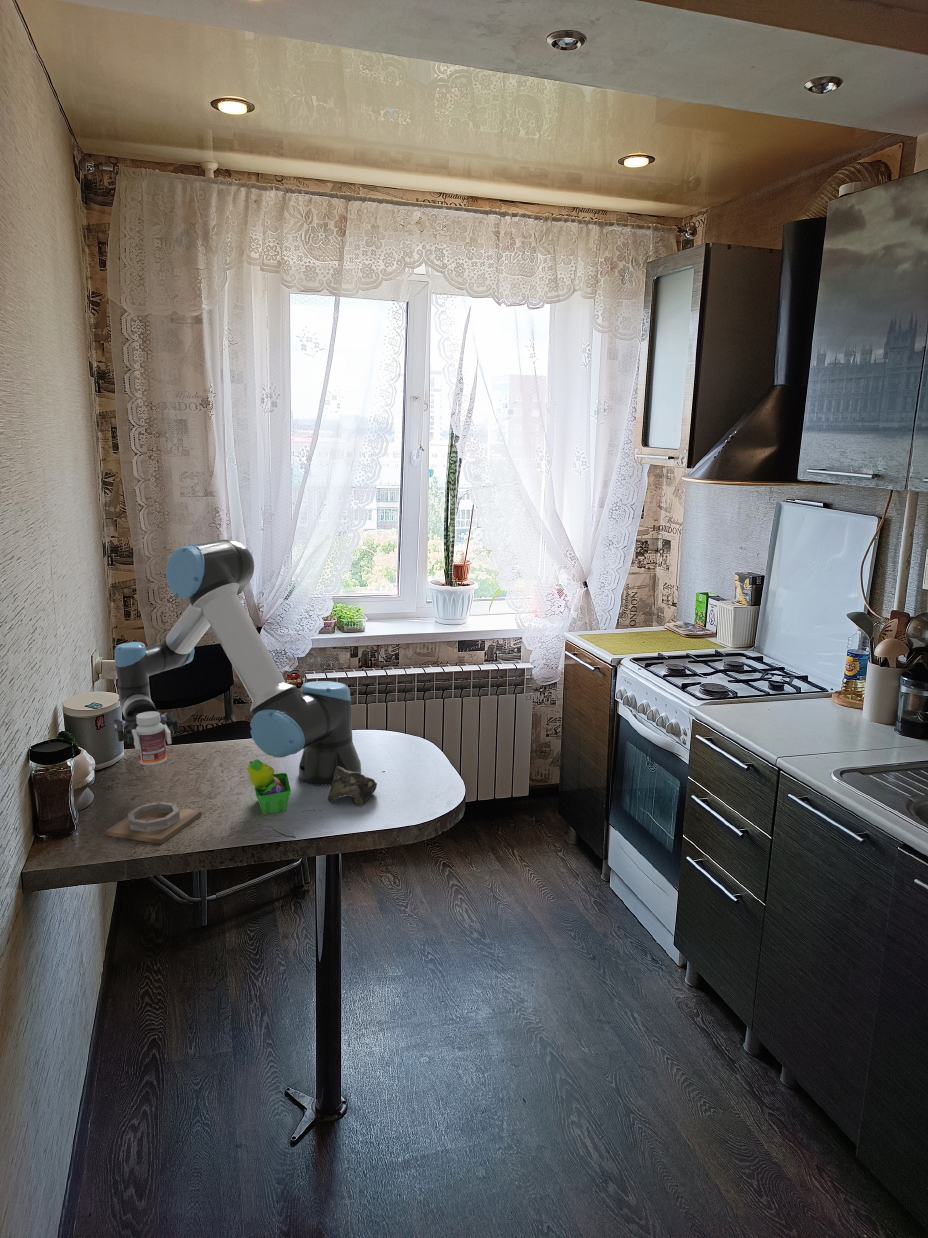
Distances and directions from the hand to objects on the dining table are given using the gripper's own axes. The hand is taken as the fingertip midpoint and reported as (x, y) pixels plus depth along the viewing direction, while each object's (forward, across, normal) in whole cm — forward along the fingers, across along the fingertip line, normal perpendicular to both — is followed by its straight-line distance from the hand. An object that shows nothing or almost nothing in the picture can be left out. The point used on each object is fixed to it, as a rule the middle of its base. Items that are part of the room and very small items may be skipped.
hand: (153, 740), depth 193 cm
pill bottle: (-5, 0, -7) cm, 8 cm away
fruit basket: (+14, -22, -15) cm, 30 cm away
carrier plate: (+12, +3, -15) cm, 19 cm away
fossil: (+20, -40, -16) cm, 47 cm away
